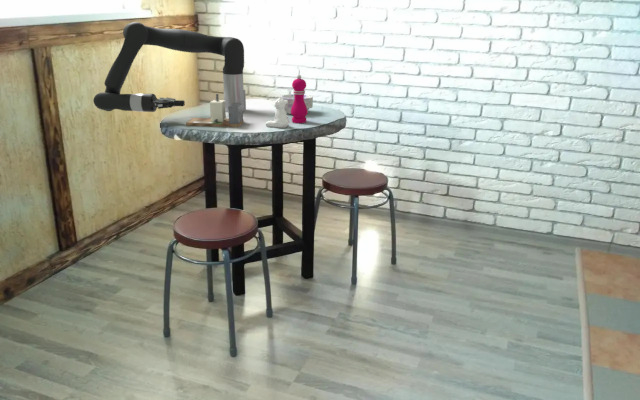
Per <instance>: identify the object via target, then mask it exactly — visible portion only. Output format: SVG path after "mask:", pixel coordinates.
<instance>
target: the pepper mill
mask: <svg viewBox="0 0 640 400" xmlns="http://www.w3.org/2000/svg"><path fill="white" fill-rule="evenodd" d="M291 83H292V84H291V87H292V88H293V93H292V94H294V96H295V99H294V103H293V105H292V108H291V114H290V115H291V116H292V117H291V123H294V124H305V123H307V117H306V116H307V115H308V112H309V111H308V112H307V107H306V105H305V102H304V95H306V88H307V81H306V80H305V79H303V78H302V75H301V74H298V75H297V76H296V78H295V79H294V80H293V81H292V82H291Z"/></svg>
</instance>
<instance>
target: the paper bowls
mask: <svg viewBox="0 0 640 400" xmlns="http://www.w3.org/2000/svg"><path fill="white" fill-rule="evenodd" d="M279 98H283V99H284V101H285V100H288V103H286V105H285V108H284V110H285V111H286V113H287V114H288V115H292V114H291V108H292V105H293V103H294V99H295V96H294V94H293V93H290V94H282V95H280V96H279ZM313 100H314V99H313V96H312V95H309V94H304V102H305V105H306V107H307V112H309V110H310V109H312V108H313V105H314V104H313Z"/></svg>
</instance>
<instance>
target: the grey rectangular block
mask: <svg viewBox="0 0 640 400" xmlns="http://www.w3.org/2000/svg"><path fill="white" fill-rule="evenodd" d="M228 119H229V124H239V123H240V122H241V121H242V120H244V111H243V103H232V104H231V105H230V106H229V107H228Z"/></svg>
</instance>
